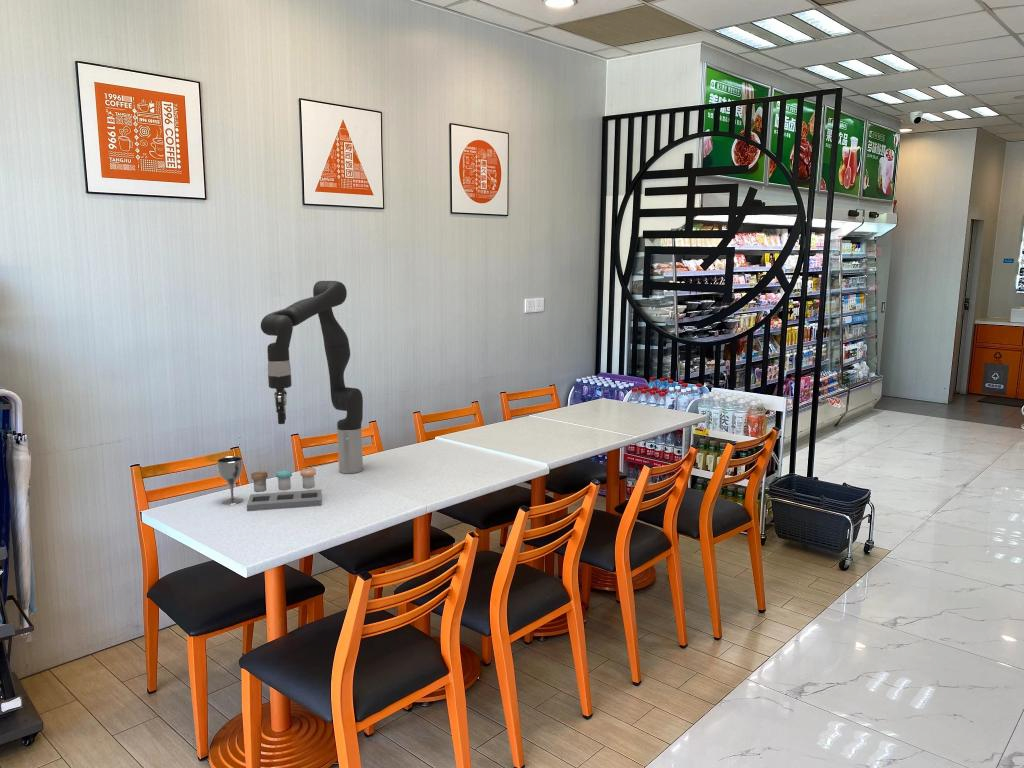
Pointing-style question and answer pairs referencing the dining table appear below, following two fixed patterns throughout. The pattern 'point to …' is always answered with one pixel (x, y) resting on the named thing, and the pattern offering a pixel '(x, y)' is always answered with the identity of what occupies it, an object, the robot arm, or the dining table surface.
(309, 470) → the terracotta button
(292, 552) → the dining table surface
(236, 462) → the wine glass
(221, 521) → the dining table surface
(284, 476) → the teal button
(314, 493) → the button board
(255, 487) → the walnut button
